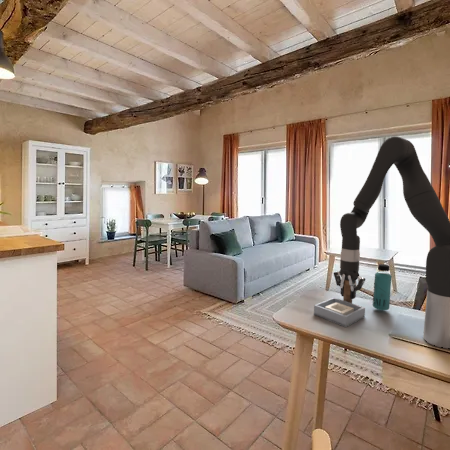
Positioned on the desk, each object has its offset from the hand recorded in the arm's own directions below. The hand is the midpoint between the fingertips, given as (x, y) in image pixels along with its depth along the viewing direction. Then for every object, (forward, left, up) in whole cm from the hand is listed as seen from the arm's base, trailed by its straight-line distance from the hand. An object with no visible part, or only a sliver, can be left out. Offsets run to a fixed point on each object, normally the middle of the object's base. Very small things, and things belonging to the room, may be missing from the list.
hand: (347, 297), depth 128 cm
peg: (0, 0, -4) cm, 4 cm away
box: (-3, +11, -4) cm, 13 cm away
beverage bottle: (-11, -7, -4) cm, 14 cm away
